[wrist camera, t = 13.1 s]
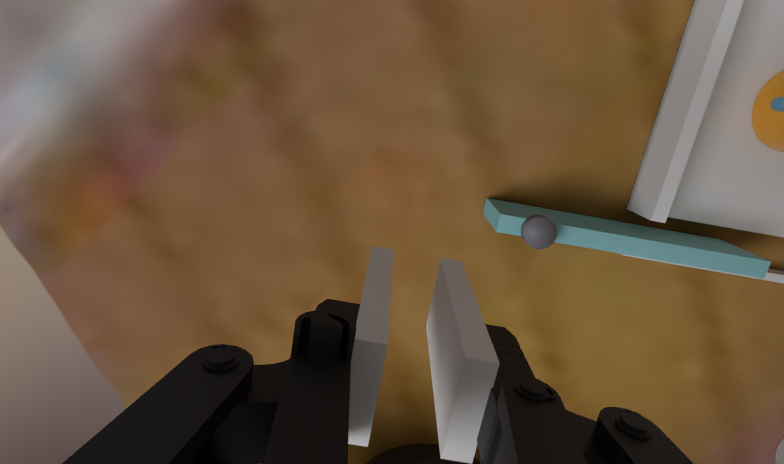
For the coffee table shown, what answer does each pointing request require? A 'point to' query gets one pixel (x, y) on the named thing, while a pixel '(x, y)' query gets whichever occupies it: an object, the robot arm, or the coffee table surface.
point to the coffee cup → (780, 453)
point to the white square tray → (717, 126)
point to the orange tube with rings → (770, 113)
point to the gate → (620, 238)
